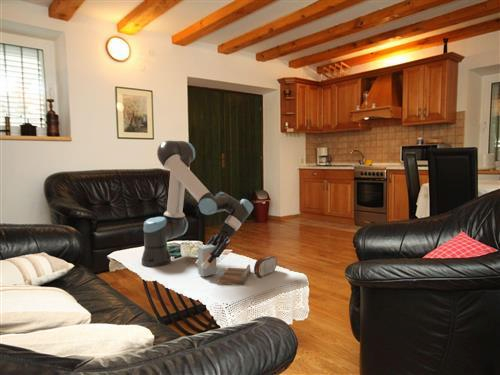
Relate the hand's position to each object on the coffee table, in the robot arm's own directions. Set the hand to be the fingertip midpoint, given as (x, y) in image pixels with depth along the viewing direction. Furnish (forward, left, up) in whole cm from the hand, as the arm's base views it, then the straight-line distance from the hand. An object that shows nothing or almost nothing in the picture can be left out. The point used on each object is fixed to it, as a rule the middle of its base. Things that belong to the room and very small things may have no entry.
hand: (200, 266), depth 163 cm
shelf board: (+10, +13, -5) cm, 17 cm away
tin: (+15, +27, -6) cm, 31 cm away
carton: (0, +4, -4) cm, 6 cm away
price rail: (+14, +16, -4) cm, 22 cm away
